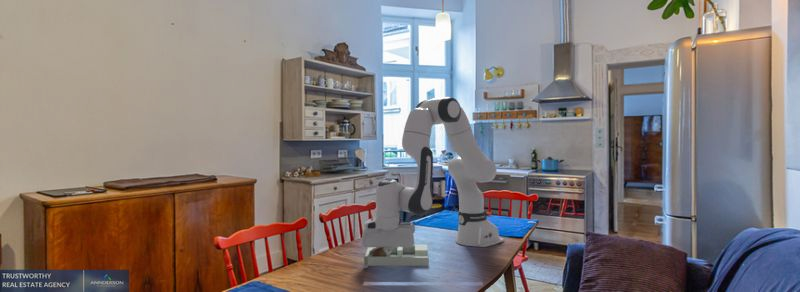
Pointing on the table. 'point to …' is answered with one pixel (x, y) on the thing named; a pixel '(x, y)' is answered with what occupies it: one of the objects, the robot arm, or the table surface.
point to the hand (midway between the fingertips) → (388, 258)
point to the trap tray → (399, 257)
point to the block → (378, 251)
